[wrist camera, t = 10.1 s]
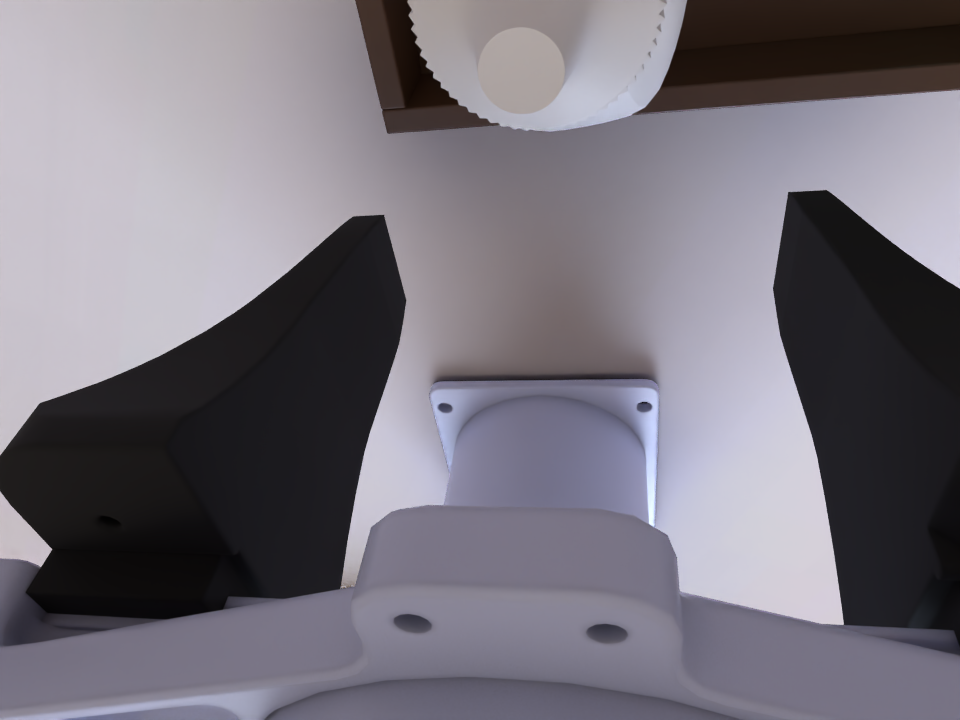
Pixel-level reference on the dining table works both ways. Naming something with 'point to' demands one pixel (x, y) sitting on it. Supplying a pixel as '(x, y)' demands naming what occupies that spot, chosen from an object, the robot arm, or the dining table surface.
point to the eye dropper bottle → (549, 57)
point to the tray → (719, 57)
